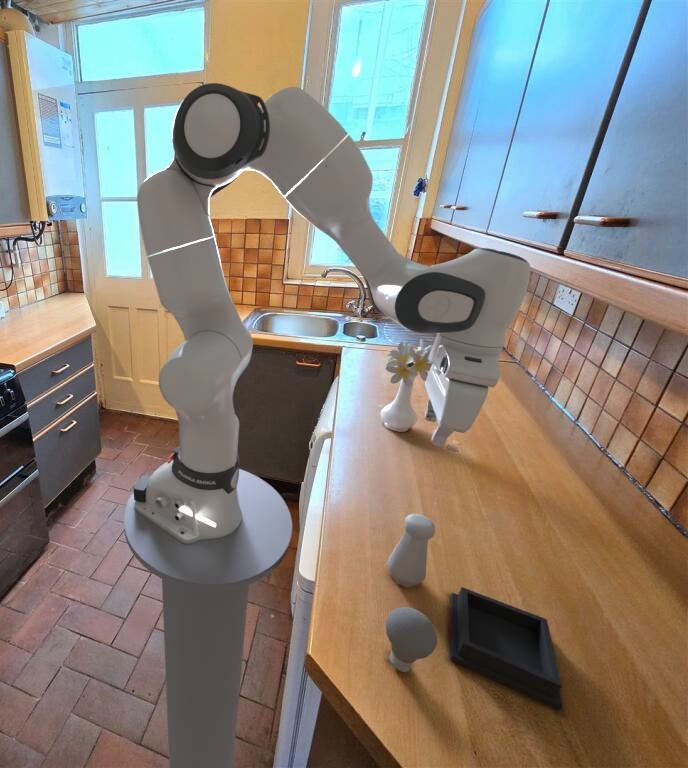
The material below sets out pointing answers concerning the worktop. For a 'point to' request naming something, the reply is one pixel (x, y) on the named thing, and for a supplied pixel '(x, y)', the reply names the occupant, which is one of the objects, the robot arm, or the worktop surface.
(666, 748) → the worktop surface
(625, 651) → the worktop surface
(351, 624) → the worktop surface
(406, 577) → the salt shaker
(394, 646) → the light bulb
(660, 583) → the worktop surface
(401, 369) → the flower vase
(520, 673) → the pad
